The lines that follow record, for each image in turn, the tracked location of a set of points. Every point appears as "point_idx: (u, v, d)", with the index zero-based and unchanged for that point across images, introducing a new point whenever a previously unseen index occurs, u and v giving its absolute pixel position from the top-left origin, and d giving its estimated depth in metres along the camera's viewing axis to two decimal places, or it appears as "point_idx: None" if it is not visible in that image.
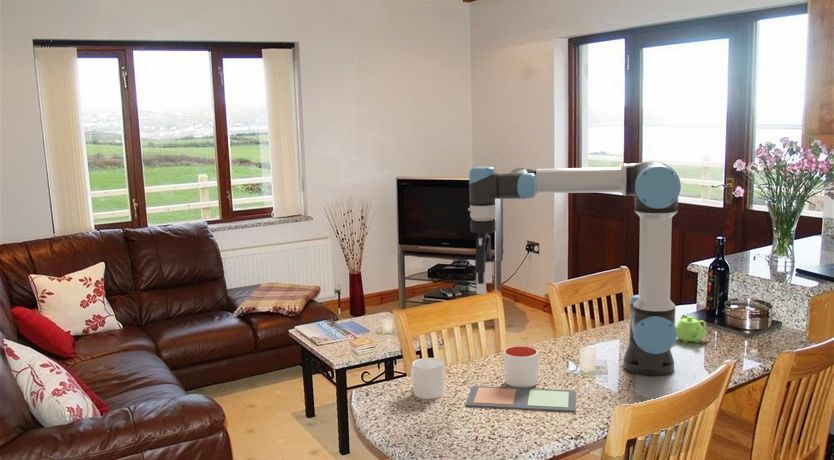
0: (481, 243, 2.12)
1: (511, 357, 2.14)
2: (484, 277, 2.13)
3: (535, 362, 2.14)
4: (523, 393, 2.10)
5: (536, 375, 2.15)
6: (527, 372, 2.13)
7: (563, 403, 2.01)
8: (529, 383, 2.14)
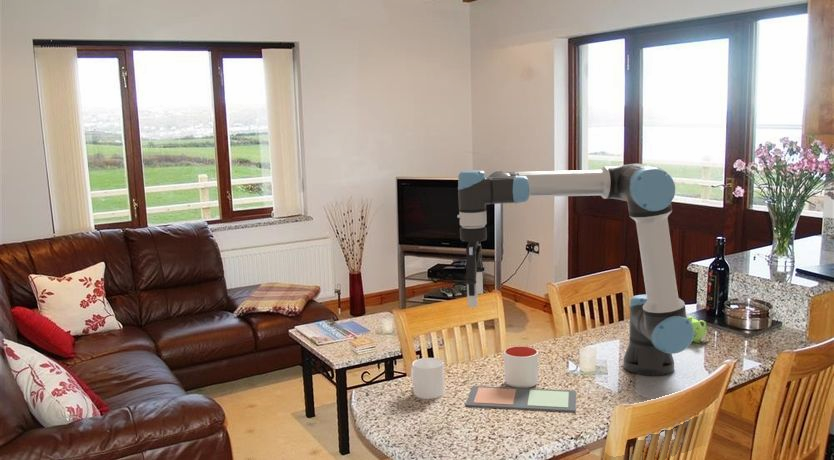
0: (471, 253, 1.98)
1: (511, 357, 2.14)
2: (475, 289, 1.99)
3: (535, 362, 2.14)
4: (523, 393, 2.10)
5: (536, 375, 2.15)
6: (527, 372, 2.13)
7: (563, 403, 2.01)
8: (529, 383, 2.14)
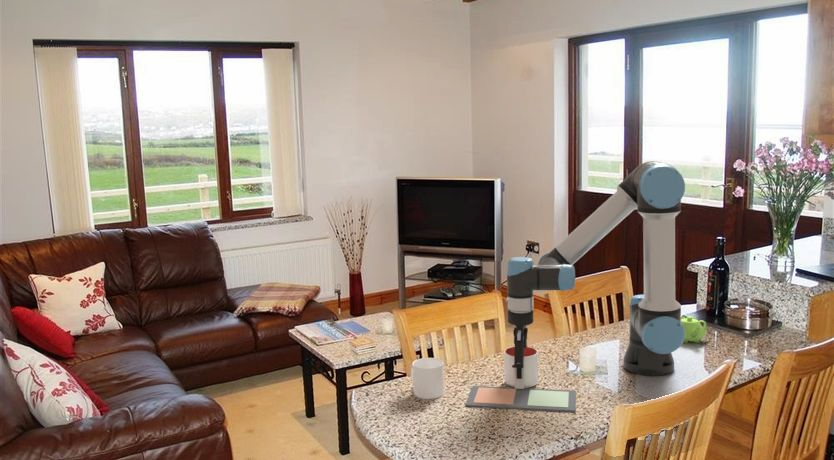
0: (519, 338, 2.09)
1: (511, 357, 2.14)
2: (522, 372, 2.11)
3: (535, 362, 2.14)
4: (523, 393, 2.10)
5: (536, 375, 2.15)
6: (527, 372, 2.13)
7: (563, 403, 2.01)
8: (529, 383, 2.14)
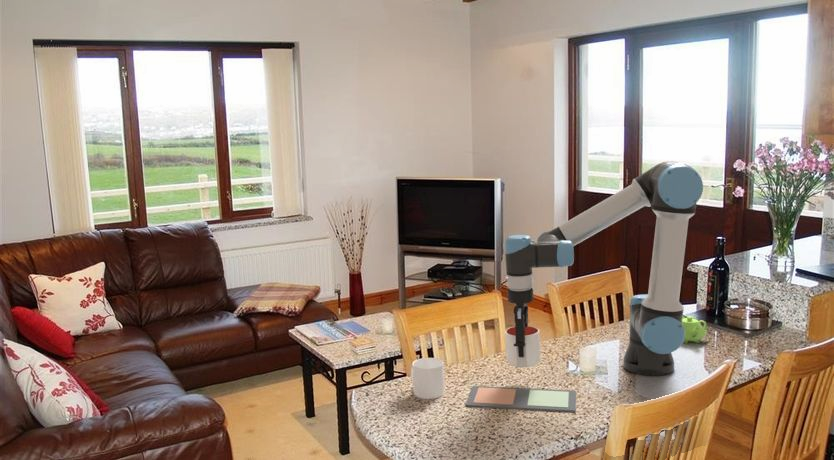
0: (520, 317, 2.08)
1: (512, 336, 2.12)
2: (524, 350, 2.11)
3: (537, 341, 2.13)
4: (523, 393, 2.10)
5: (538, 354, 2.14)
6: (529, 351, 2.12)
7: (563, 403, 2.01)
8: (531, 362, 2.13)
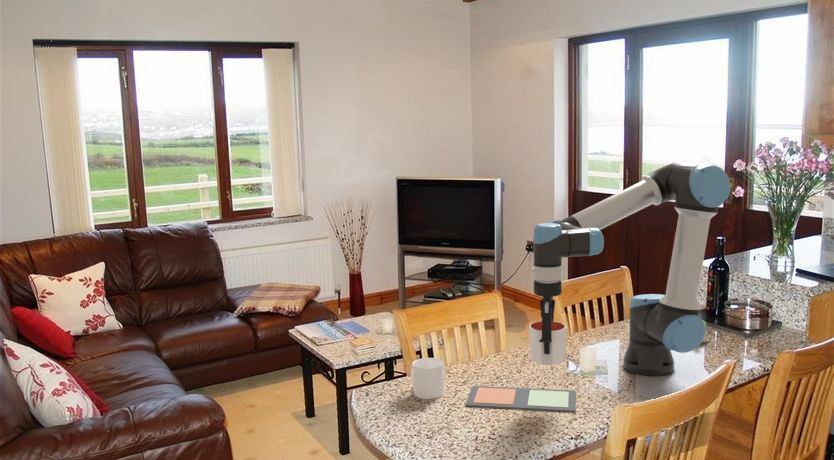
0: (547, 311, 1.94)
1: (537, 331, 1.98)
2: (550, 347, 1.97)
3: (564, 337, 1.99)
4: (523, 393, 2.10)
5: (564, 351, 2.00)
6: (555, 348, 1.98)
7: (563, 403, 2.01)
8: (557, 360, 1.98)
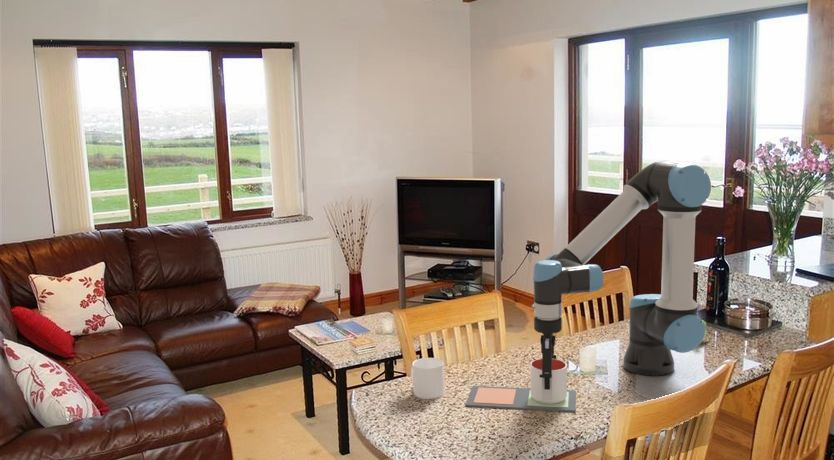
0: (547, 346, 1.96)
1: (538, 371, 2.00)
2: (551, 382, 1.97)
3: (564, 376, 2.01)
4: (523, 393, 2.10)
5: (565, 390, 2.02)
6: (556, 387, 2.00)
7: (563, 403, 2.01)
8: (557, 398, 2.00)
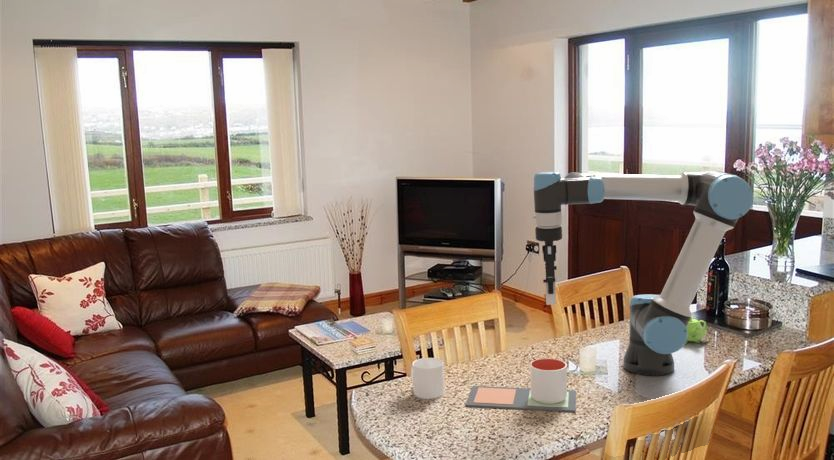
0: (550, 252, 2.03)
1: (538, 371, 2.00)
2: (554, 287, 2.04)
3: (564, 376, 2.01)
4: (523, 393, 2.10)
5: (565, 390, 2.02)
6: (555, 387, 2.00)
7: (563, 403, 2.01)
8: (557, 398, 2.00)
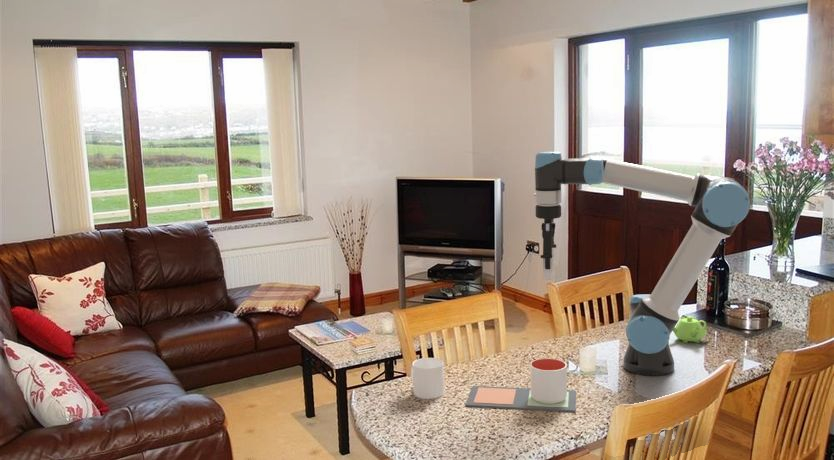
0: (548, 228, 2.10)
1: (538, 371, 2.00)
2: (551, 263, 2.11)
3: (564, 376, 2.01)
4: (523, 393, 2.10)
5: (565, 390, 2.02)
6: (555, 387, 2.00)
7: (563, 403, 2.01)
8: (557, 398, 2.00)
